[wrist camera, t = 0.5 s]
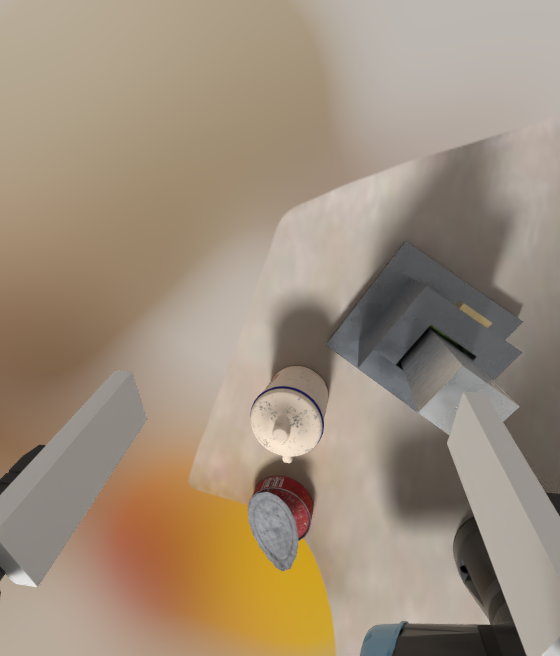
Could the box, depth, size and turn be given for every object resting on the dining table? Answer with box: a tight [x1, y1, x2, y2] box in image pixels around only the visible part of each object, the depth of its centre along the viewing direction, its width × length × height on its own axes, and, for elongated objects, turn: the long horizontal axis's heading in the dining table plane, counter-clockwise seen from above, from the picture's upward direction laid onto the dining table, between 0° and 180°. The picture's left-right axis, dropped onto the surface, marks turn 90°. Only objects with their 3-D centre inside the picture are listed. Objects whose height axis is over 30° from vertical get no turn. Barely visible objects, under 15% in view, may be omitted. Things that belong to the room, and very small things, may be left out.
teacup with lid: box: [250, 366, 328, 463], centre depth 43 cm, size 12×9×12 cm
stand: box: [326, 241, 523, 412], centre depth 36 cm, size 16×16×12 cm
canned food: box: [248, 476, 313, 571], centre depth 50 cm, size 11×10×10 cm
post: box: [400, 325, 520, 436], centre depth 31 cm, size 4×4×20 cm
